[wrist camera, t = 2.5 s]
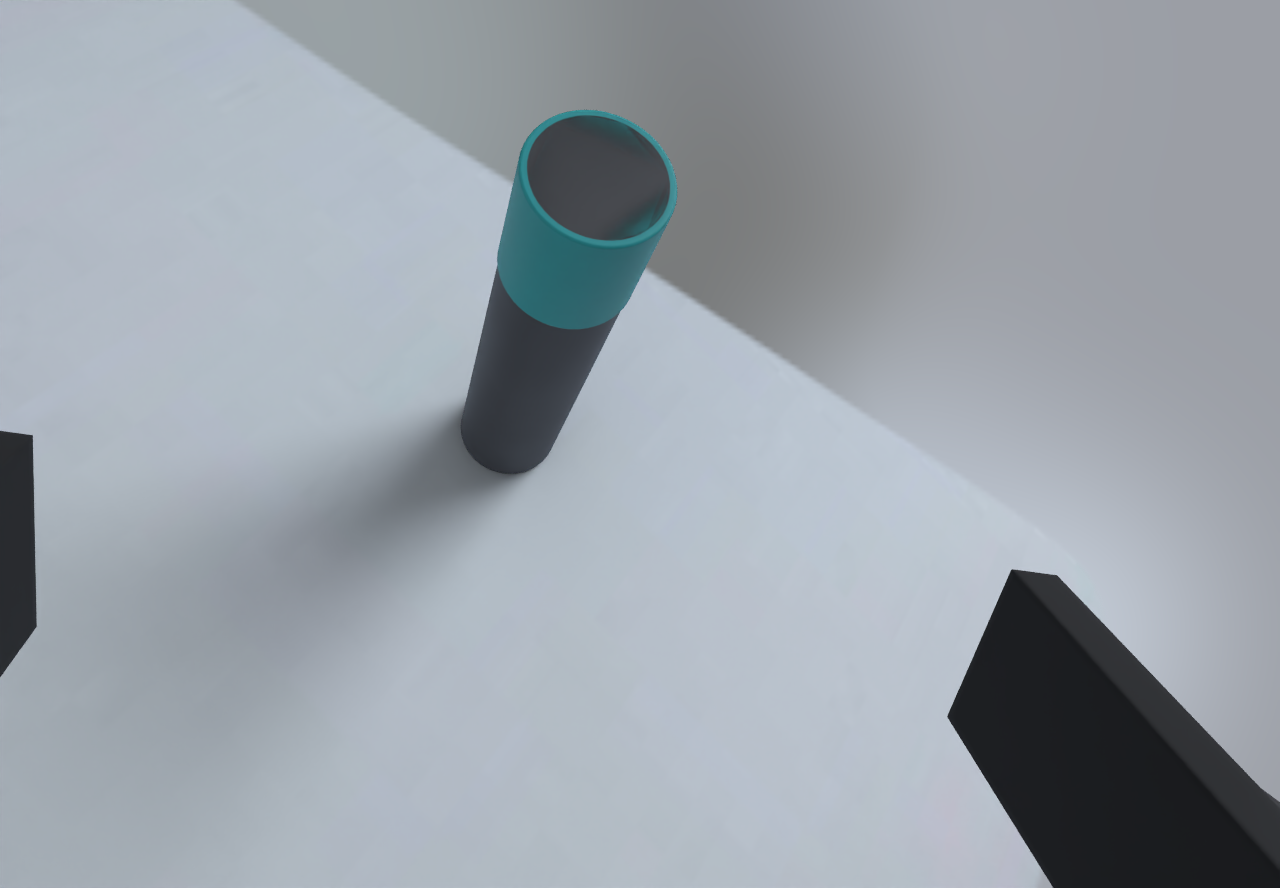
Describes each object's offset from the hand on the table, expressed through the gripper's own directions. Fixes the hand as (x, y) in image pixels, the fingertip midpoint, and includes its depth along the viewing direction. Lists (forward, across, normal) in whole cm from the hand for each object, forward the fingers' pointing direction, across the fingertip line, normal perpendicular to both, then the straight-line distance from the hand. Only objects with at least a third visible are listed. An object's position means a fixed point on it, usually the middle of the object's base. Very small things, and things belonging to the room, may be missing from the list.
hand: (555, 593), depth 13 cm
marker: (+14, 0, -4) cm, 14 cm away
